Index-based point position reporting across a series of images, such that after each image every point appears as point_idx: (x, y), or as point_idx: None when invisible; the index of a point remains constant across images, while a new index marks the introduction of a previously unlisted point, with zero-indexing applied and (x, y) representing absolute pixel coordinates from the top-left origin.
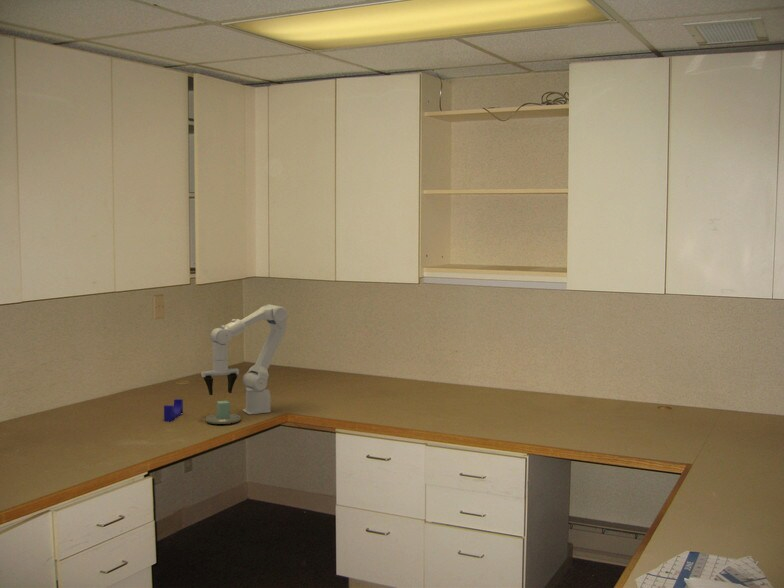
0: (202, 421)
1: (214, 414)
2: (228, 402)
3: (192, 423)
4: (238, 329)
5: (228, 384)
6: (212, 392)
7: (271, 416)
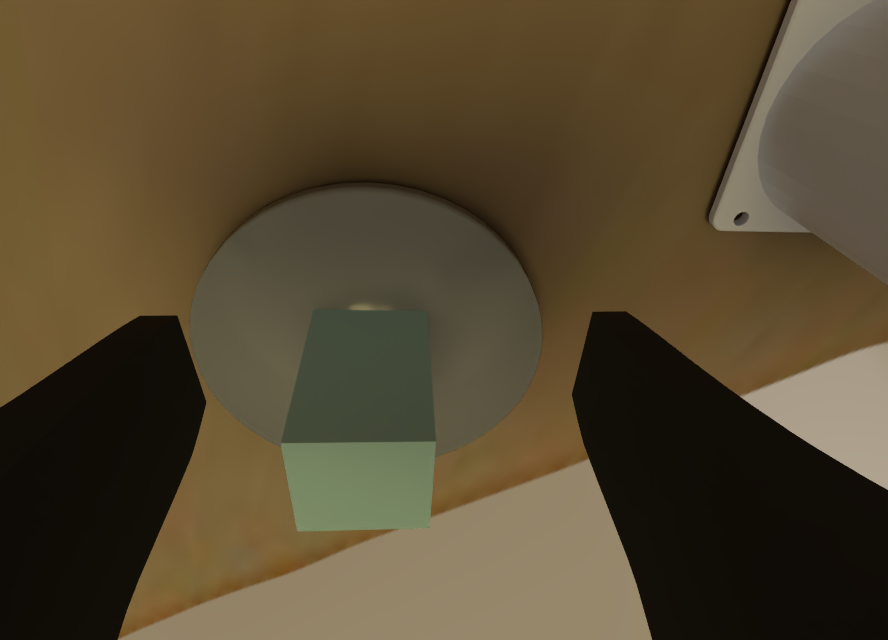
0: (168, 257)
1: (313, 211)
2: (417, 518)
3: (56, 287)
4: None
5: (678, 449)
6: (187, 458)
7: (815, 344)
